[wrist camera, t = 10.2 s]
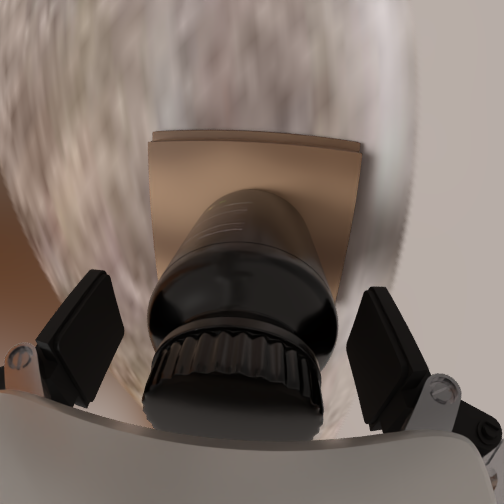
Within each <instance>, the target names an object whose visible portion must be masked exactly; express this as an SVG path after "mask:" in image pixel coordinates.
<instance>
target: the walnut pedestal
mask: <svg viewBox="0 0 504 504" xmlns="http://www.w3.org/2000/svg"><path fill="white" fill-rule="evenodd" d="M359 151H360V143H358V142H354V141H347V140H341V139H333V138H326V137H318V136H309V135H299V134H288V133H276V132H260V131H238V130H174V131H156V132H153V141H151V142H148V163H149V187H150V204H151V217H152V229H153V240H154V250H155V259H156V267H157V275H158V281H159V279H160V277H161V276H162V274H163V273H164V271H165V269H166V268H167V266H168V265H169V263H170V261H171V260H172V258H173V257H174V255H175V254H176V252H177V251H178V249H179V248H180V246H181V244H182V243H183V241H184V240H185V238H186V237H187V235H188V234H189V232H190V231H191V229H192V228H193V226H194V225H195V223H196V222H197V221H198V219H199V218H200V216H201V215H202V214H203V213H204V211H205V210H206V209H207V208H208V207H209V206H210V205H211V204H212V203H213V202H215V201H216V200H217V199H219V198H221V197H222V196H224V195H227V194H229V193H232V192H235V191H240V190H248V189H254V190H262V191H267V192H270V193H273V194H276V195H278V196H280V197H282V198H283V199H285V200H286V201H288V202H289V203H290V204H291V205H293V206H294V207H295V208H296V210H297V211H298V212H299V213H300V215H301V216H302V218H303V219H304V221H305V223H306V225H307V227H308V230H309V232H310V235H311V237H312V240H313V243H314V245H315V248H316V251H317V253H318V256H319V259H320V262H321V265H322V267H323V270H324V273H325V276H326V279H327V281H328V284H329V287H330V290H331V293H332V296H333V299H334V302H335V300H336V296H337V292H338V288H339V284H340V279H341V275H342V270H343V266H344V261H345V256H346V251H347V247H348V241H349V236H350V231H351V226H352V220H353V214H354V208H355V202H356V196H357V189H358V183H359V176H360V168H361V160H362V153H359Z"/></svg>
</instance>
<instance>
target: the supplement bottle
mask: <svg viewBox="0 0 504 504" xmlns="http://www.w3.org/2000/svg"><path fill="white" fill-rule="evenodd" d="M147 324H148V332H149V337H150V340H151V343H152V346H153V348H154V351H155V355H154V358H153V361H152V366H151V373H150V375H149V378H148V380H147V383H146V386H145V390H144V393H143V396H142V403H143V411H144V413H145V414H146V415H147V420H149V421H150V422H151V423H152V426H153V428H155V429H156V430H162V431H167V432H173V433H179V434H186V435H193V436H201V437H209V438H219V439H231V440H247V441H311V440H313V436H315V435H316V434H318V433H319V428H320V427H321V426H322V424H323V413H324V407H323V400H322V393H321V373H320V372H321V371H322V370H323V368H324V367H325V366H326V364H327V362H328V361H329V359H330V357H331V355H332V353H333V350H334V348H335V345H336V341H337V336H338V316H337V311H336V306H335V302H334V299H333V296H332V293H331V290H330V287H329V284H328V281H327V279H326V276H325V273H324V270H323V267H322V265H321V262H320V259H319V256H318V253H317V251H316V248H315V245H314V243H313V240H312V237H311V235H310V232H309V230H308V227H307V225H306V223H305V221H304V219H303V218H302V216H301V215H300V213H299V212H298V211H297V210H296V208H295V207H294V206H293V205H291V204H290V203H289V202H288V201H286V200H285V199H283V198H282V197H280V196H278V195H276V194H273V193H270V192H267V191H262V190H254V189H248V190H240V191H235V192H232V193H229V194H227V195H224V196H222V197H221V198H219V199H217V200H216V201H215V202H213V203H212V204H211V205H210V206H209V207H208V208H207V209H206V210H205V211H204V213H203V214H202V215H201V216H200V218H199V219H198V221H197V222H196V223H195V225H194V226H193V228H192V229H191V231H190V232H189V234H188V235H187V237H186V238H185V240H184V241H183V243H182V244H181V246H180V248H179V249H178V251H177V252H176V254H175V255H174V257H173V258H172V260H171V261H170V263H169V265H168V266H167V268H166V269H165V271H164V273H163V274H162V276H161V277H160V279H159V281H158V283H157V285H156V287H155V289H154V291H153V293H152V295H151V298H150V301H149V306H148V313H147Z"/></svg>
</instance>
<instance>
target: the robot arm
mask: <svg viewBox="0 0 504 504" xmlns="http://www.w3.org/2000/svg"><path fill="white" fill-rule="evenodd" d="M123 336H124V326H123V323H122V319H121V316H120V312H119V309H118V305H117V302H116V298H115V294H114V290H113V286H112V282H111V278H110V276H109V275H107V273H106V272H105V271H104V270H94V269H92V270H90V271H89V272H88V273H87V274H86V275H85V276H84V277H83V279H82V280H81V281H80V282H79V283H78V285H77V286H76V287H75V288H74V290H73V291H72V292H71V293H70V294H69V296H68V297H67V298H66V299H65V301H64V302H63V303H62V305H61V306H60V307H59V308H58V310H57V311H56V312H55V314H54V315H53V317H52V318H51V319H50V321H49V322H48V323H47V324H46V326H45V327H44V329H43V330H42V331H41V333H40V334H39V335H38V337H37V338H36V342H37V345H36V347H34V346H33V345H32V344H30V343H20V344H17V345H15V346H14V347H12V348H11V349H10V350H9V351H8V353H7V354H6V356H5V360H4V366H2V367H0V504H504V439H502V429H501V426H500V424H499V423H498V422H497V420H496V419H495V418H493V417H492V416H490V415H488V414H486V413H484V412H483V411H480V410H479V409H477V408H475V407H473V406H471V405H469V404H468V403H466V402H464V401H462V400H461V389H460V387H459V385H458V383H457V382H456V381H455V380H454V379H453V378H451V377H450V376H448V375H445V374H438V373H437V374H433V375H431V374H430V372H429V369H428V367H427V364H426V362H425V360H424V358H423V356H422V354H421V352H420V350H419V348H418V346H417V344H416V342H415V340H414V338H413V336H412V334H411V332H410V330H409V328H408V326H407V324H406V322H405V321H404V319H403V317H402V315H401V313H400V311H399V309H398V308H397V306H396V304H395V302H394V301H393V299H392V297H391V295H390V293H389V292H388V290H387V288H386V287H370V288H369V289H368V290H366V291H365V292H364V294H363V297H362V300H361V303H360V306H359V309H358V312H357V315H356V318H355V321H354V324H353V327H352V330H351V333H350V336H349V338H348V341H347V345H346V351H347V355H348V359H349V362H350V366H351V370H352V374H353V377H354V381H355V385H356V389H357V393H358V397H359V401H360V405H361V410H362V414H363V418H364V422H365V423H366V424H369V427H370V431H376V430H382V431H383V434H377V435H370V436H362V437H353V438H343V439H342V438H341V439H330V440H314V441H247V440H231V439H219V438H209V437H201V436H193V435H186V434H179V433H173V432H167V431H162V430H156V429H151V428H146V427H142V426H137V425H133V424H128V423H124V422H120V421H116V420H112V419H109V418H105V417H102V416H99V415H95V414H92V413H88V412H85V411H82V410H79V409H76V408H73V406H74V404H76V405H78V406H81V407H84V408H88V405H89V403H90V402H93V400H94V399H95V397H96V394H97V392H98V390H99V387H100V385H101V383H102V381H103V378H104V376H105V374H106V372H107V370H108V368H109V365H110V363H111V361H112V359H113V357H114V355H115V353H116V351H117V348H118V346H119V344H120V342H121V340H122V338H123Z"/></svg>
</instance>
